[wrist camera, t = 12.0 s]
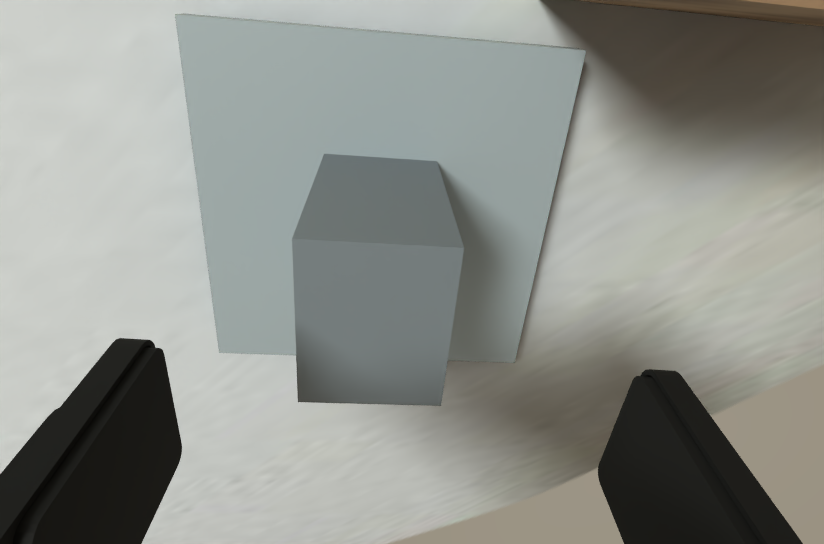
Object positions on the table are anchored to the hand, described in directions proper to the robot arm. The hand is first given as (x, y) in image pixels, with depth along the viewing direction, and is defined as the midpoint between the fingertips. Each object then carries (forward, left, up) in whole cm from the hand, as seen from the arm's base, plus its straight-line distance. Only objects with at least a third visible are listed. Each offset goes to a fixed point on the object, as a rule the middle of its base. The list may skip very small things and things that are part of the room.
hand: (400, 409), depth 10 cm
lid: (+1, 0, -12) cm, 12 cm away
